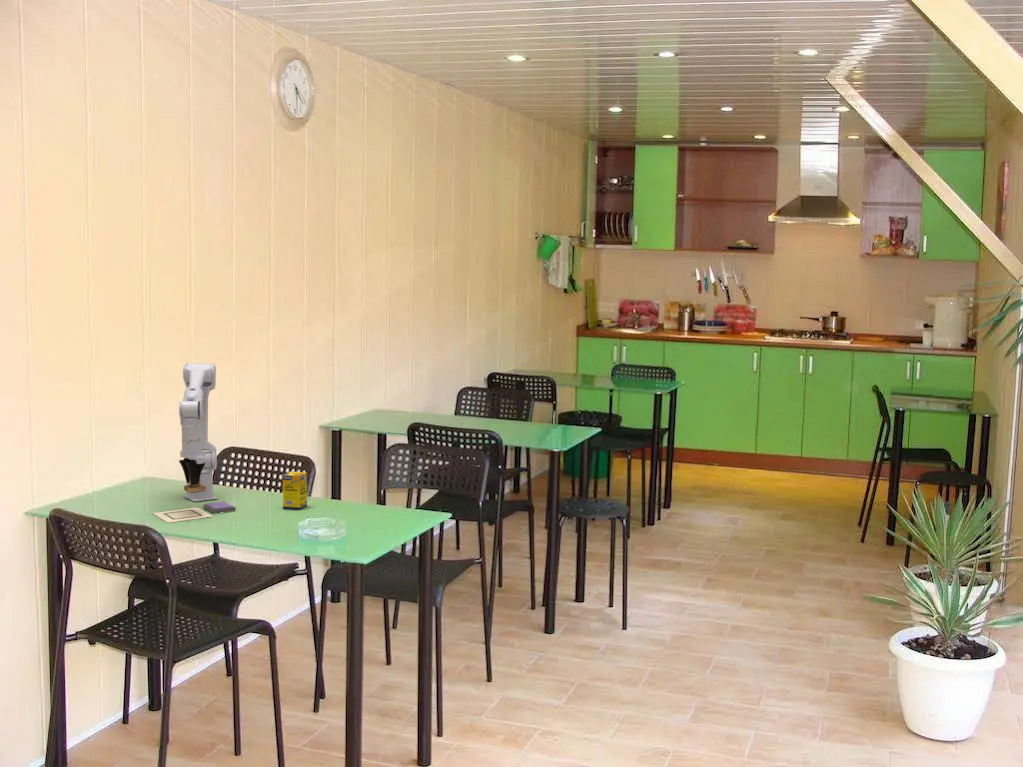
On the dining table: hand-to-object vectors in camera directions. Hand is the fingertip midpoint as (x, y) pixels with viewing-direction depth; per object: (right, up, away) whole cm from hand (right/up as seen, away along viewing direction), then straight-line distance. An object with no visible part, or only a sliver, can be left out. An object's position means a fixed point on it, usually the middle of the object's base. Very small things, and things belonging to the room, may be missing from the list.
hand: (192, 483), depth 349 cm
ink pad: (+6, -9, +7) cm, 13 cm away
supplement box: (+29, -9, +11) cm, 33 cm away
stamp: (+1, -2, +1) cm, 2 cm away
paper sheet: (-3, -10, -1) cm, 10 cm away
